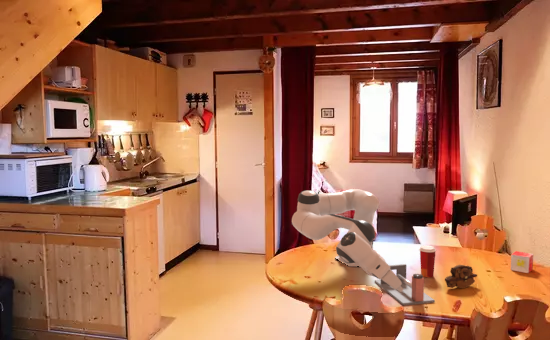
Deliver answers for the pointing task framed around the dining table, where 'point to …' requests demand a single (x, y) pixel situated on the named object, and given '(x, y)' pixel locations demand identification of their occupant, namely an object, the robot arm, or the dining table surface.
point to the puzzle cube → (521, 262)
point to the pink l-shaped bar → (415, 286)
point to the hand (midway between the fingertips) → (395, 286)
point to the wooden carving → (460, 277)
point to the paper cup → (427, 260)
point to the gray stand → (406, 294)
